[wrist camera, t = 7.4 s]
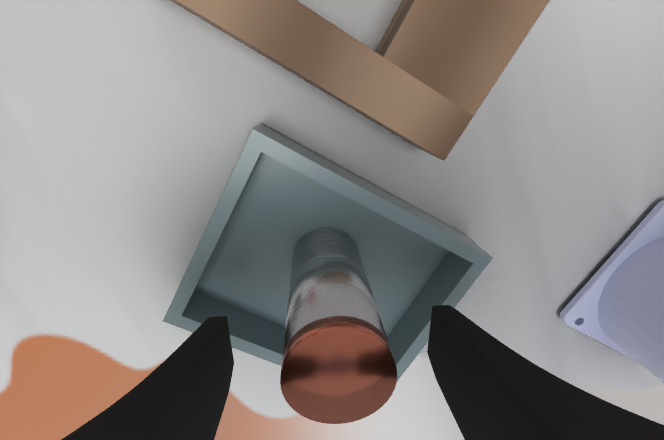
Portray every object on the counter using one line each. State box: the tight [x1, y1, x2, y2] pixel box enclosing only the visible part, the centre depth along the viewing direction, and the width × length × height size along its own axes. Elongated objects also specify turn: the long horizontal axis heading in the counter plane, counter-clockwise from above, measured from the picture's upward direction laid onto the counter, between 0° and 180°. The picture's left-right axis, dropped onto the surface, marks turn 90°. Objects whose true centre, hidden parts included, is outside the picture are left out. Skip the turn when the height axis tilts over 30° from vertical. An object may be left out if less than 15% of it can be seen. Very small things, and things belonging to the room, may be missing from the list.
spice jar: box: [280, 227, 397, 424], centre depth 13 cm, size 3×3×8 cm
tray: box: [163, 123, 492, 381], centre depth 16 cm, size 11×9×2 cm
